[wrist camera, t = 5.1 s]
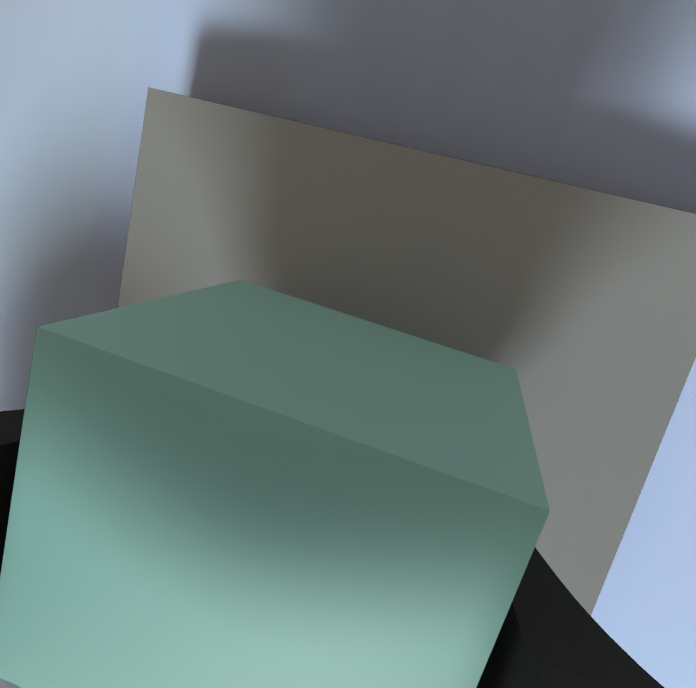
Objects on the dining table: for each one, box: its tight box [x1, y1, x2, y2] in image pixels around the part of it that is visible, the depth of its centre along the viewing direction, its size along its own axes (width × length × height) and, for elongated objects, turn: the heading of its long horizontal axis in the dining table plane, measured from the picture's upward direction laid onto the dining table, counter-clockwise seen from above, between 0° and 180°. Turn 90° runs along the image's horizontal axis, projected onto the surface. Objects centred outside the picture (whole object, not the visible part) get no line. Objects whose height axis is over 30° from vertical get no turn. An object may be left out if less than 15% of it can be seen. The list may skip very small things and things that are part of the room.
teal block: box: [0, 280, 550, 688], centre depth 10 cm, size 6×6×6 cm
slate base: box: [118, 87, 696, 616], centre depth 16 cm, size 14×14×2 cm
